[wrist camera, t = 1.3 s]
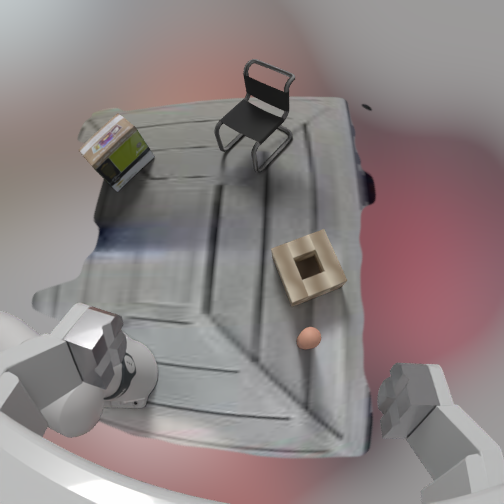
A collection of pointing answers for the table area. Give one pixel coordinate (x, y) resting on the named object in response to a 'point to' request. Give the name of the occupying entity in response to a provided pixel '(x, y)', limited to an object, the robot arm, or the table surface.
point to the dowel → (309, 338)
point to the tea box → (117, 152)
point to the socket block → (308, 267)
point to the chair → (258, 114)
